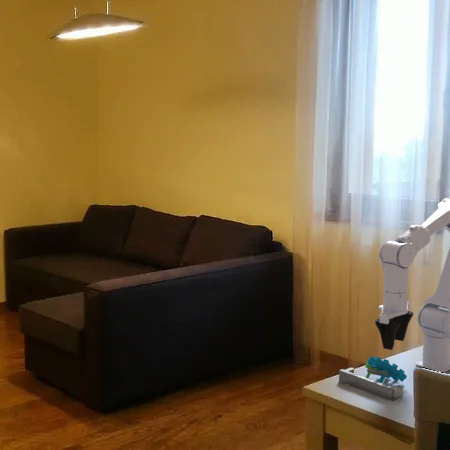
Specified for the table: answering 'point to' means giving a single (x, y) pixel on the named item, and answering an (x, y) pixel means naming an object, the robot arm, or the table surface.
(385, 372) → the gear
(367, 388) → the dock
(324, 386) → the table surface
